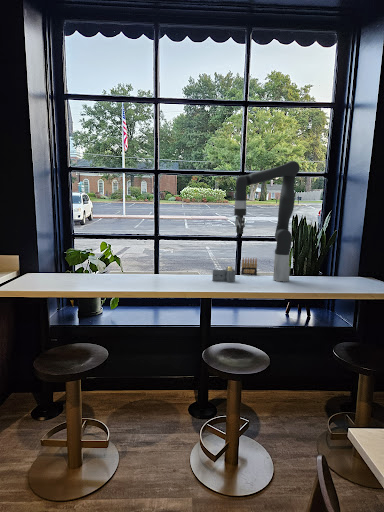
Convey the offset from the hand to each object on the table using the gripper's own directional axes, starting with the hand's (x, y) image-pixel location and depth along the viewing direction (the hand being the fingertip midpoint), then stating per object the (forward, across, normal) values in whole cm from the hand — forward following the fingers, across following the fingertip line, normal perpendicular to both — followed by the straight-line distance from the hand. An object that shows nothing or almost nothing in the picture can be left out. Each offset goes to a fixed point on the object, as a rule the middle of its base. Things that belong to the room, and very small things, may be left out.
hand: (239, 233), depth 224 cm
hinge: (+30, -3, +11) cm, 32 cm away
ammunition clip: (+30, +12, -11) cm, 34 cm away
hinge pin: (+30, -7, +7) cm, 31 cm away
